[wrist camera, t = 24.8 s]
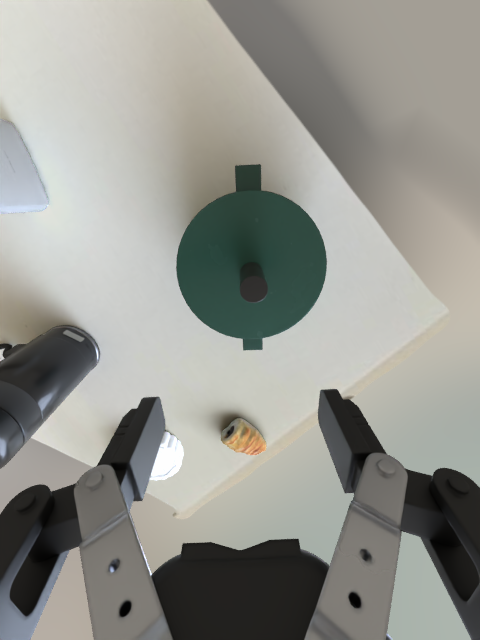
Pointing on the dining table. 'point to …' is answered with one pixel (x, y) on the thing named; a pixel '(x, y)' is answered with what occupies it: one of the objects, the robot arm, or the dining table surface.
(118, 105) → the dining table surface
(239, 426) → the pastry
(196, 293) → the lid
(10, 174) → the photo printer
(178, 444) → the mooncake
